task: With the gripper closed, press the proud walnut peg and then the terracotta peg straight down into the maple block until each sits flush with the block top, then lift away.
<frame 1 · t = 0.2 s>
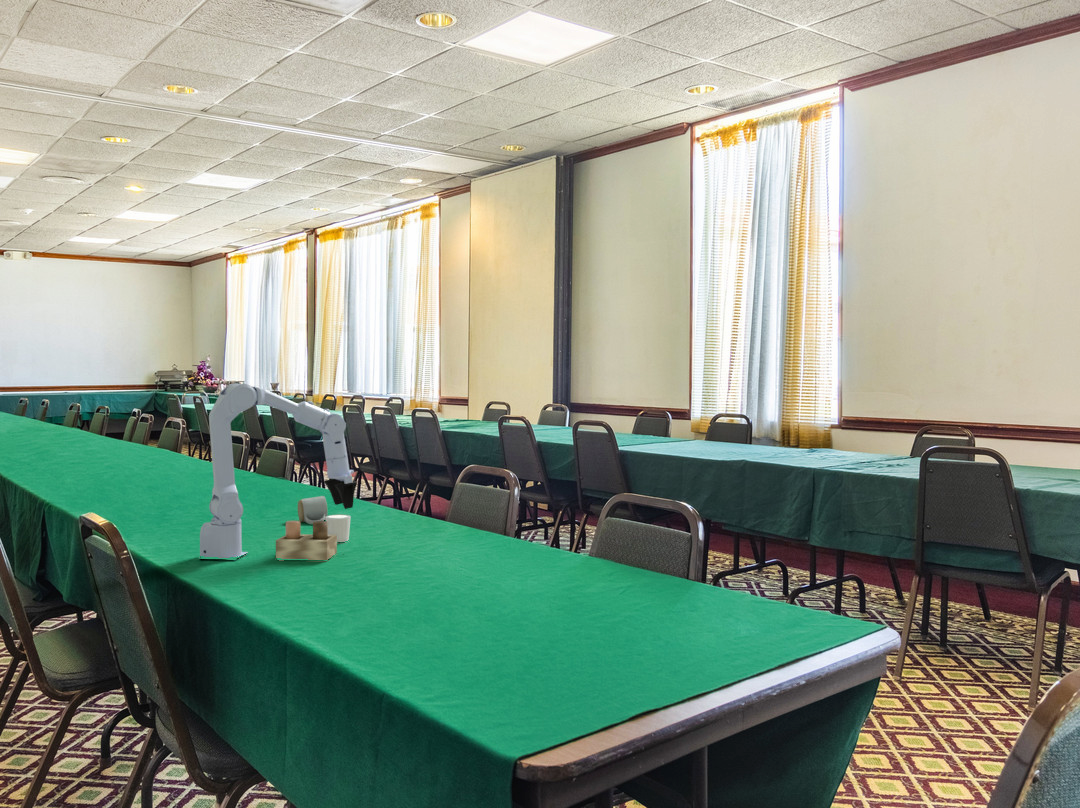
hand: (343, 506, 231), 10 cm above the table, tool pointing down, fingers open, 7 cm apart
walnut peg: (320, 531, 215), point 7 cm above the table, slide at 0.0 cm
ceramic mug: (314, 522, 264), on the table
maple block: (306, 557, 215), on the table
terracotta peg: (293, 531, 215), point 7 cm above the table, slide at 0.0 cm
white cup: (338, 542, 235), on the table
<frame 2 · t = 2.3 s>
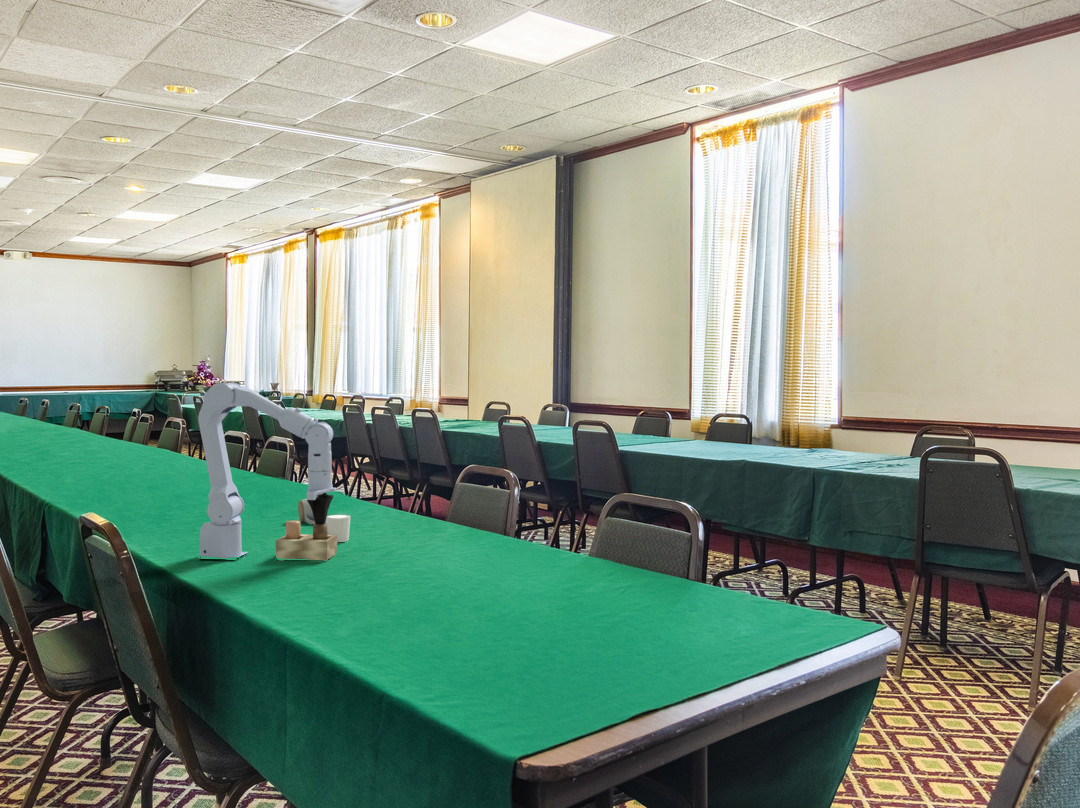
hand: (320, 524, 215), 9 cm above the table, tool pointing down, fingers closed, pressing on walnut peg
walnut peg: (320, 533, 215), point 6 cm above the table, slide at 0.4 cm, touching gripper
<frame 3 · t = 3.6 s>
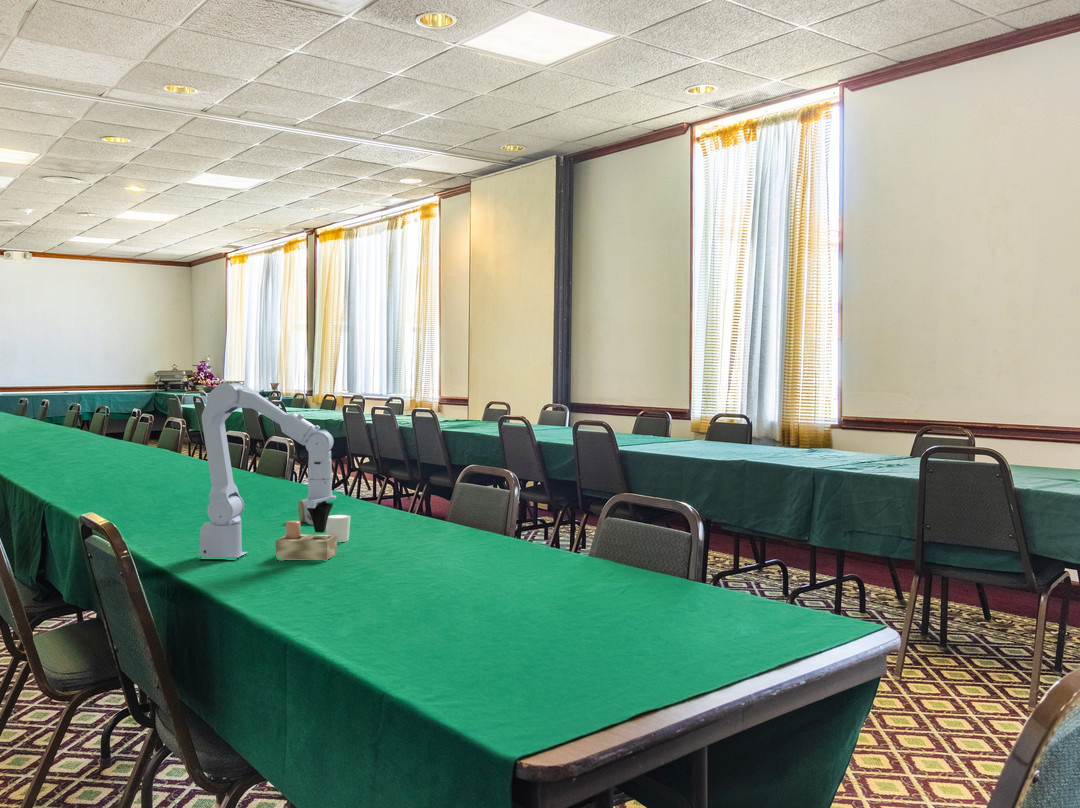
hand: (319, 532, 215), 7 cm above the table, tool pointing down, fingers closed
walnut peg: (320, 546, 215), point 3 cm above the table, slide at 3.8 cm
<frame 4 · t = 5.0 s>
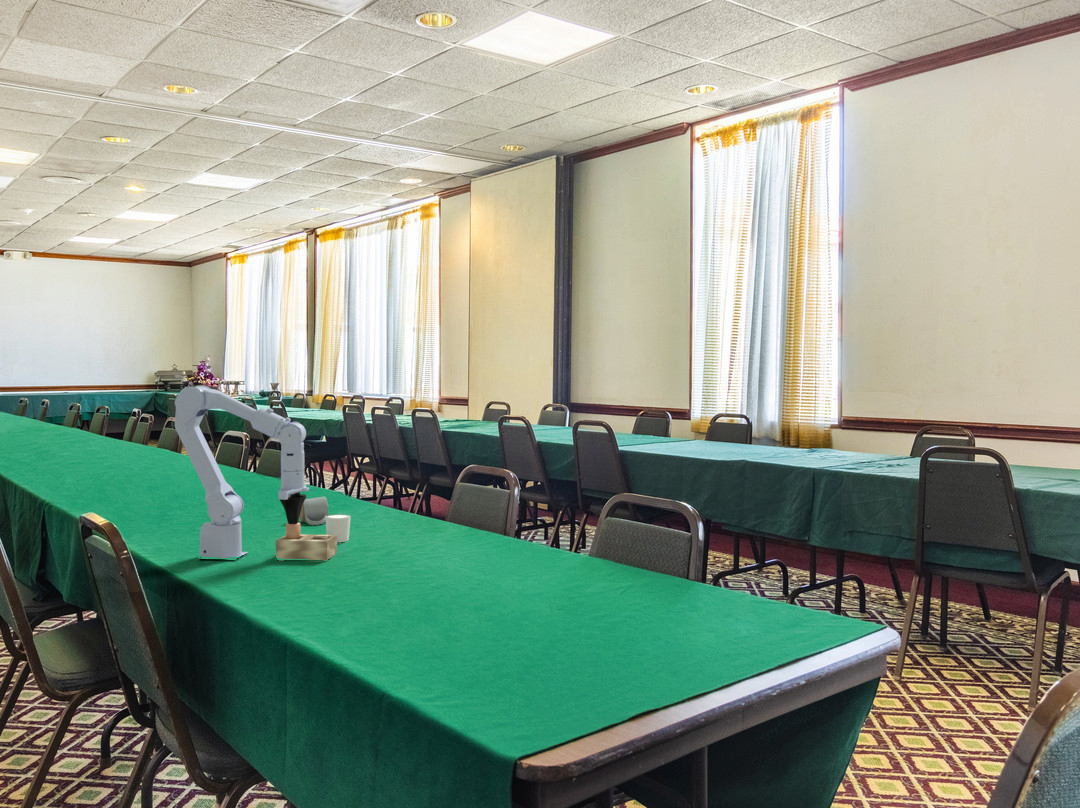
hand: (293, 523, 215), 9 cm above the table, tool pointing down, fingers closed, pressing on terracotta peg
terracotta peg: (293, 532, 215), point 6 cm above the table, slide at 0.4 cm, touching gripper
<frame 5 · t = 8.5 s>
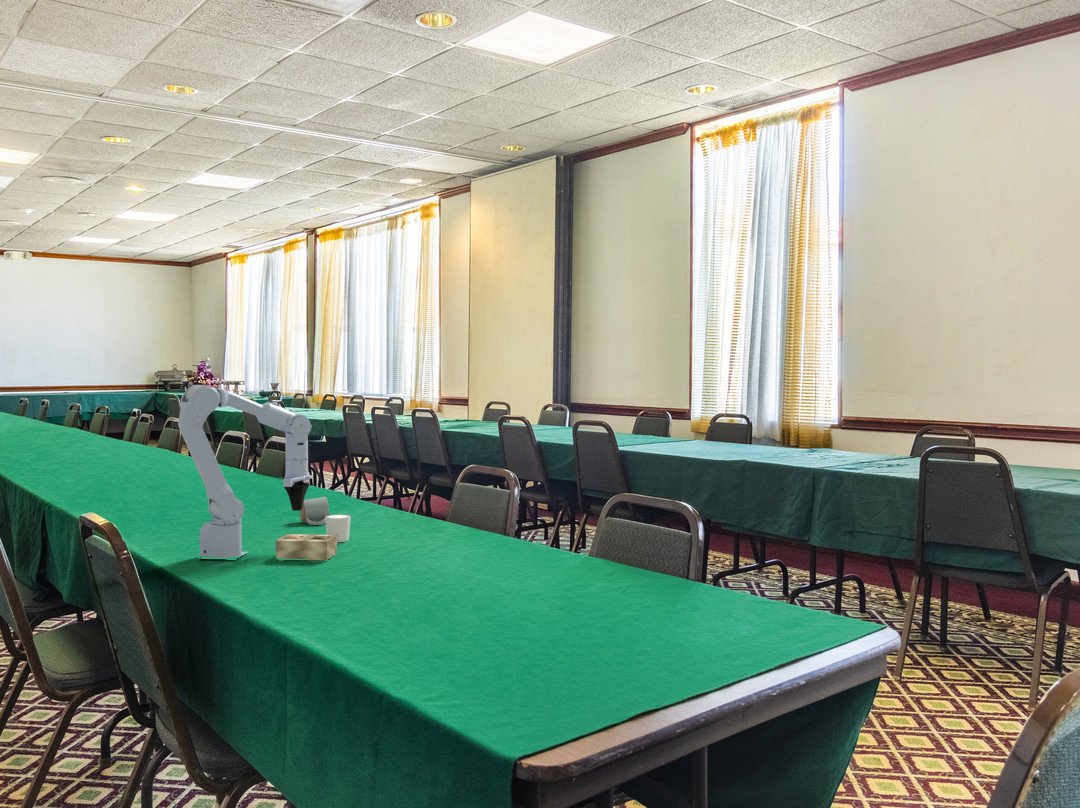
hand: (297, 510, 225), 10 cm above the table, tool pointing down, fingers closed
terracotta peg: (293, 546, 215), point 3 cm above the table, slide at 3.8 cm
at the end: walnut peg slide at 3.8 cm; terracotta peg slide at 3.8 cm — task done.
